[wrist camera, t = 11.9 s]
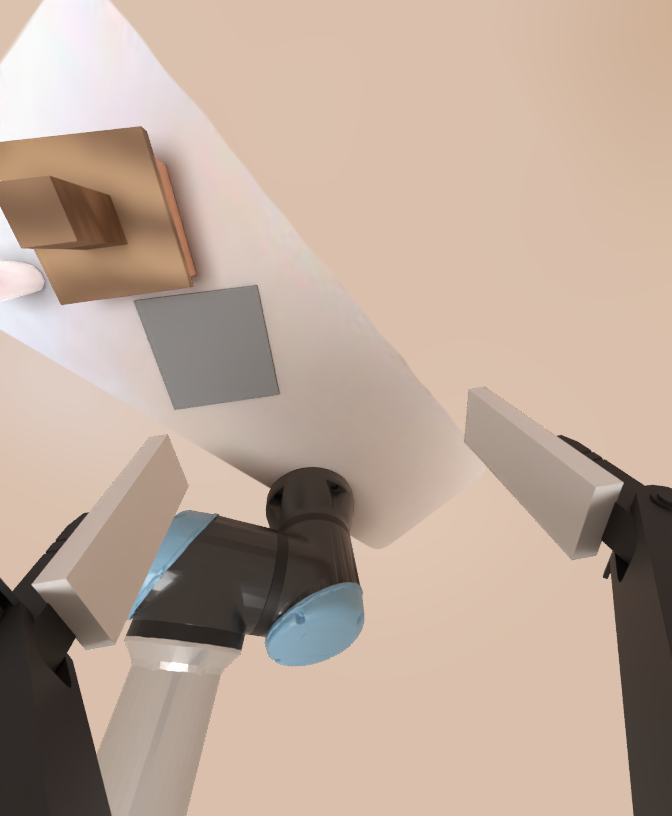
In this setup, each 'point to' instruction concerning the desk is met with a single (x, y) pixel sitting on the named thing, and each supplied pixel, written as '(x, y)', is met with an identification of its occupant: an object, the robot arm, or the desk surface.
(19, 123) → the desk surface
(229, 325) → the mat
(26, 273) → the milkshake
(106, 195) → the lid
